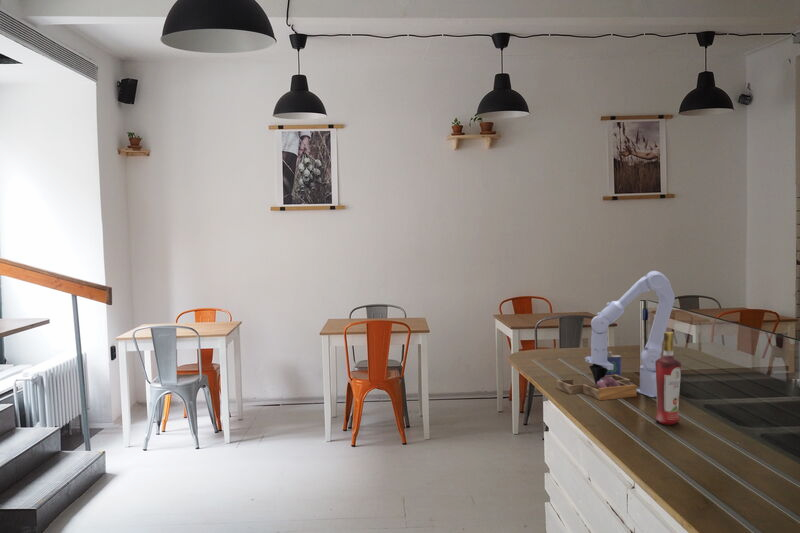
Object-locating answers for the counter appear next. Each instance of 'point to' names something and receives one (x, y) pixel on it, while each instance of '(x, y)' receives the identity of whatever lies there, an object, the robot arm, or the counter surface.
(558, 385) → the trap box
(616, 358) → the flask
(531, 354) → the counter surface
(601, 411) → the counter surface
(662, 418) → the liquor
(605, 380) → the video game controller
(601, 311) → the robot arm
